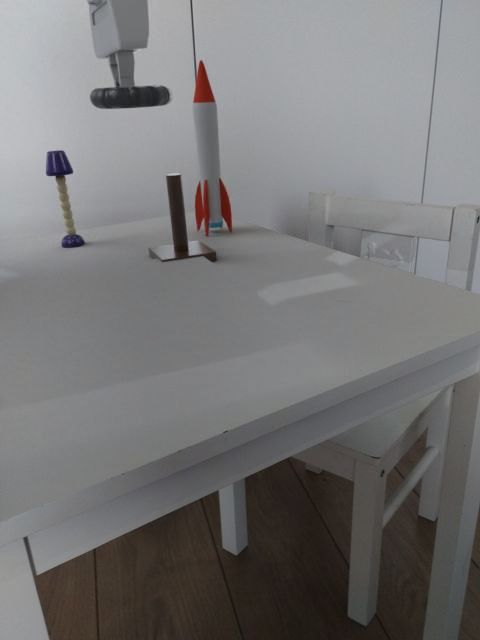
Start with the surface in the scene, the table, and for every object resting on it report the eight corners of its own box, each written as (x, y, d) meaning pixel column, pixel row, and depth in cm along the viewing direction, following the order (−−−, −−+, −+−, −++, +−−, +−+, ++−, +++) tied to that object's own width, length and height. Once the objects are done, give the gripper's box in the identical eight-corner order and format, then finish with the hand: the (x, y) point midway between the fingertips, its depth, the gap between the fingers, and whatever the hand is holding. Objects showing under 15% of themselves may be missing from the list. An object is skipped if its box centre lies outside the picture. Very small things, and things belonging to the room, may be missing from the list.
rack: (163, 269, 90) (152, 180, 84) (149, 256, 97) (138, 174, 91) (216, 260, 93) (210, 174, 87) (199, 248, 100) (192, 168, 95)
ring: (98, 110, 69) (95, 88, 68) (87, 107, 78) (84, 88, 77) (181, 105, 73) (179, 84, 72) (162, 103, 81) (160, 84, 80)
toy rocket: (233, 232, 110) (223, 58, 98) (206, 236, 108) (192, 59, 95) (222, 227, 115) (211, 60, 102) (196, 231, 113) (181, 61, 100)
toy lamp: (54, 245, 107) (36, 151, 100) (75, 240, 110) (58, 149, 103) (71, 248, 104) (53, 152, 97) (91, 242, 108) (75, 149, 101)
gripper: (73, -14, 80) (90, 94, 86) (95, -46, 63) (115, 92, 68) (118, -14, 82) (132, 91, 88) (151, -44, 65) (166, 89, 71)
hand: (125, 92), depth 78 cm, fingers closed on ring, 2 cm apart
